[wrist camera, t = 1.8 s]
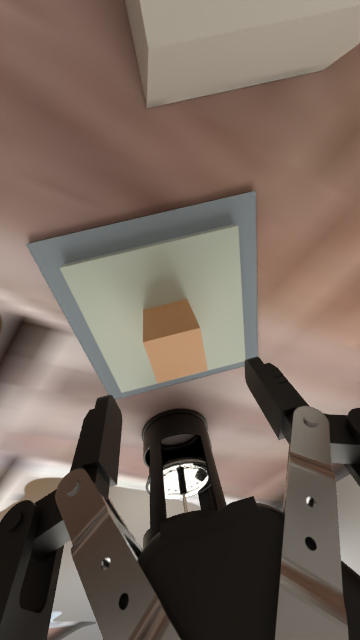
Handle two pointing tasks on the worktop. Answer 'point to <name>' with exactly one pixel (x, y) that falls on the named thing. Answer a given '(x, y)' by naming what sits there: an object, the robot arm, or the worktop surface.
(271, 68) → the dish
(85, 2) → the worktop surface
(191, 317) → the lid
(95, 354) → the mat
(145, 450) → the french press
